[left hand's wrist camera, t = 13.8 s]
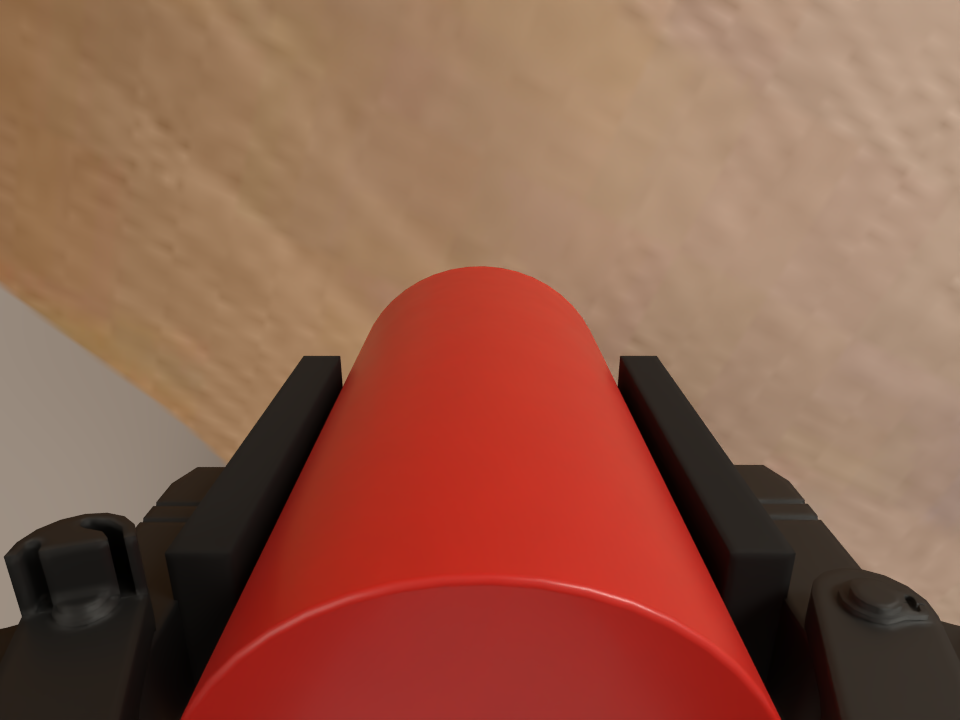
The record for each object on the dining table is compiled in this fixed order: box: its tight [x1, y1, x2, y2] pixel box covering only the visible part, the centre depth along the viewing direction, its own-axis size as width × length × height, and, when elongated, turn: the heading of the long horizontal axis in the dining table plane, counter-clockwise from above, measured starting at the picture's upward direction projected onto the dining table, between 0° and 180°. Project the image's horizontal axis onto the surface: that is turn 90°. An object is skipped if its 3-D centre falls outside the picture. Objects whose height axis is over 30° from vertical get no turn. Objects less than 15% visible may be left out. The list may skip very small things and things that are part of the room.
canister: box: [180, 266, 781, 720], centre depth 11 cm, size 6×6×11 cm
